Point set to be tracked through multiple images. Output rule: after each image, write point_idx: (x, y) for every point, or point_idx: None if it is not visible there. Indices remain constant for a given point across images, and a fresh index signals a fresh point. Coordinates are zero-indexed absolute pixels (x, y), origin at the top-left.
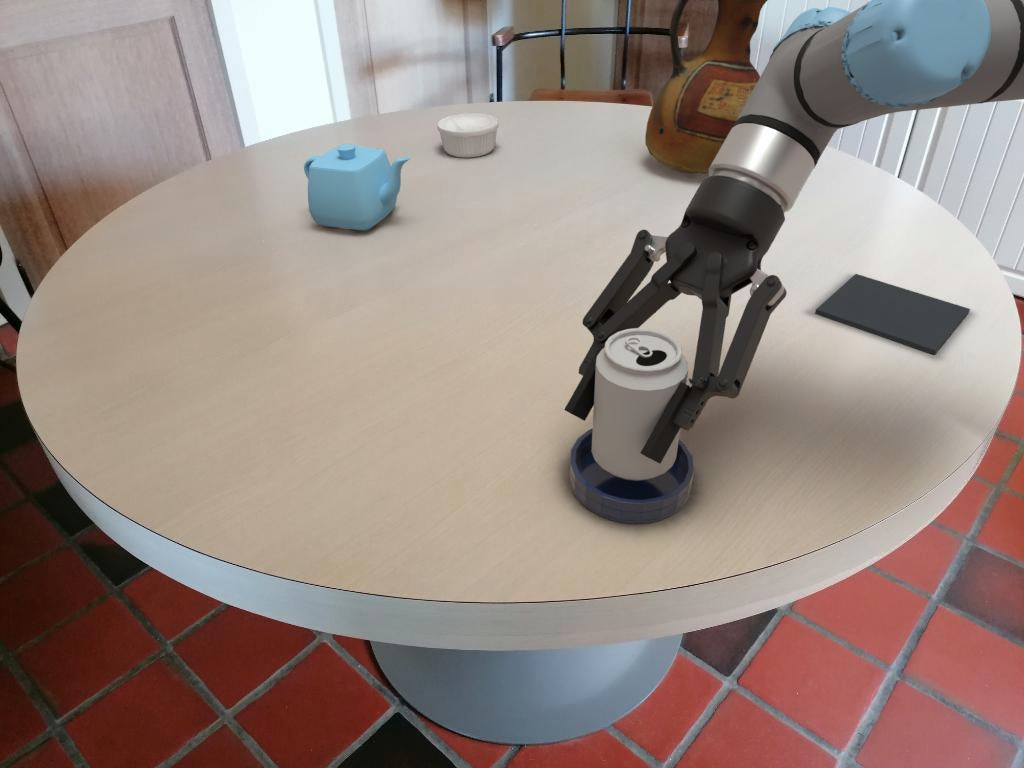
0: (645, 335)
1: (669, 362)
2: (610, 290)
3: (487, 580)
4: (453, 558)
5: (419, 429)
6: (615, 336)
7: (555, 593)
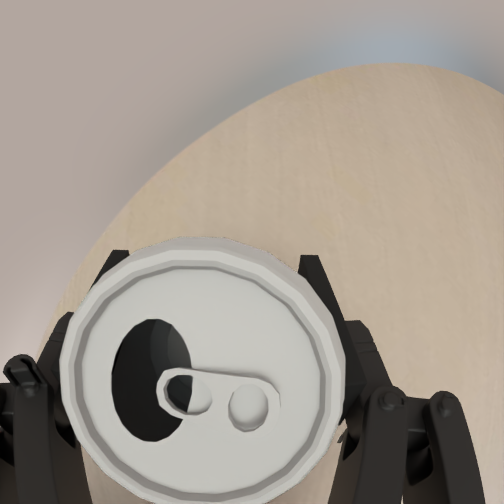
0: (260, 479)
1: (72, 373)
2: (468, 501)
3: (239, 130)
4: (283, 128)
5: (445, 232)
6: (328, 388)
7: (179, 157)
